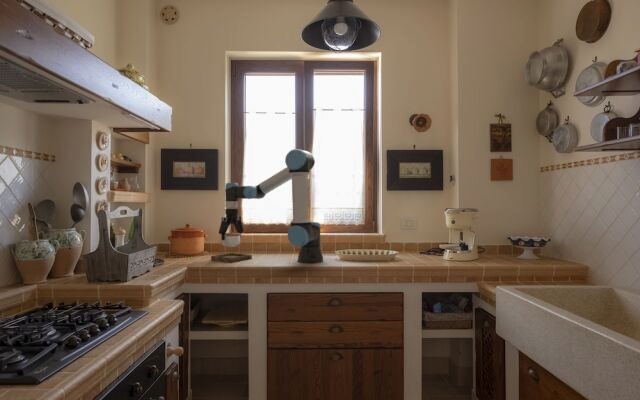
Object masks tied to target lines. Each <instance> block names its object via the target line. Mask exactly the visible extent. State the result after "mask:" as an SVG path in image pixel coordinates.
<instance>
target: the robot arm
mask: <svg viewBox="0 0 640 400" xmlns="http://www.w3.org/2000/svg"><path fill="white" fill-rule="evenodd" d="M284 162H285V163H284V164H285V165H286V167H284V168H283V169H282V170H280V171H279V172H277V173H274V175H272V176H270V177H268V178H266V179H265V180H264V181H262V182H260V183H258V184H256V185H255V186H253V185H239V184H238V182H226V183H225V188H224V189H225V190H224V192H225V198H224V199H225V201H224V202H225V204H224V205H225V206H224V207H225V209H224V211H225V213H224V214H225V217H223V216H222V217H221V222H220V225H219V226H220V227H219V228H218V229H219V231H218V234H219V235H221V245H222V246H224V247H227V246H226V235H225V234H226V233H227V231H228V229H229V228H230V225H232V224H233V226H234V228H235V230H236V233H240V239H242V234H243V232H245V230H244V227H243V222H242V216H238V214H239V209H238V208H239V199H244V200H245V199H246V200H247V199H248V200H251V199H252V200H253V199H257V200H261V199H263V198H265V197H266V195H267V194H269V193H270V192H272V191H274V190H275V189H278V187H280V186H282V185H284V184H285V183H287V182H289V181H290V180H291V195H292V196H291V199H292V201H291V202H292V220H290V223H289V224H290V225H289V226H290V228H289V229H288V230H287V239H288V241H289V243H290V244H291V245H293V246H295V247H300V249H299V251H298V252H299V253H298V255H297V261H298V262H301V263H309V264H311V263H314V264H315V263H321V262H324V256H323V252H322V249H321V224H320V222H316V221H311V220H310V218H309V205H308V204H309V203H308V201H309V199H308V176H309V175H310V171H311V170H312V169H313V168H314V167H315V163H316V161H315V156H314V155H313V154H312V153H311V152H310V151H307V150H303V149H300V148H295V149H294V148H293V149H291V150H289V151H288V152H287V154H286V156H285V161H284ZM240 244H241V241H240V242H239V244H238V245H240Z"/></svg>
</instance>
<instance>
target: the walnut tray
mask: <svg viewBox="0 0 640 400" xmlns="http://www.w3.org/2000/svg"><path fill="white" fill-rule="evenodd" d="M210 260H211V261H215V262H223V263H228V262H229V263H230V264H233V263H238V262H243V261H249V260H253V255H252V254H245V253H239V252H228V253H223V254H222V253H221V254H216V255H211V256H210Z"/></svg>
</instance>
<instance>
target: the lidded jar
mask: <svg viewBox="0 0 640 400" xmlns="http://www.w3.org/2000/svg"><path fill="white" fill-rule="evenodd" d="M225 235H226V246H225V247H228V248H233V247H237V246H238V245H240V244H239V242H240V243H241V238H240V233H238V232H233V230H230V232H226V234H225Z"/></svg>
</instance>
